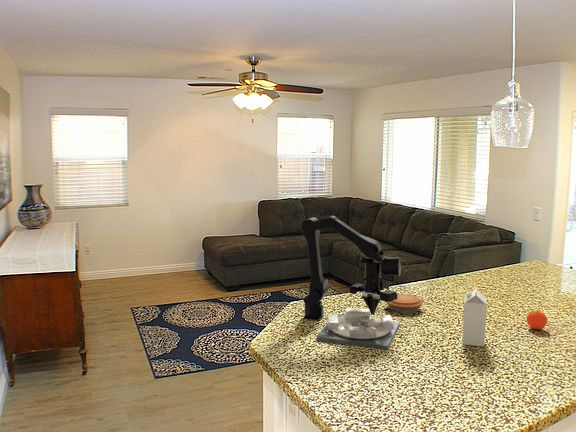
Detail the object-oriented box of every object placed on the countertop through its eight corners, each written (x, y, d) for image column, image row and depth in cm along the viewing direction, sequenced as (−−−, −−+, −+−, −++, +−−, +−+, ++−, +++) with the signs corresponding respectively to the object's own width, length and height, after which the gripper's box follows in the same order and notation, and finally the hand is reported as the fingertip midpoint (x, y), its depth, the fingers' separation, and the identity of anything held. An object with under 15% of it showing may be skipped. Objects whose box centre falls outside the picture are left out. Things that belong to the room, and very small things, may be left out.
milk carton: (483, 339, 185) (486, 287, 182) (484, 347, 178) (487, 293, 175) (462, 337, 187) (465, 285, 184) (462, 344, 180) (464, 291, 177)
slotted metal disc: (329, 339, 180) (329, 329, 180) (327, 317, 203) (327, 308, 203) (396, 340, 179) (396, 330, 179) (387, 317, 202) (387, 309, 202)
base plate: (316, 340, 184) (316, 335, 184) (335, 317, 208) (335, 313, 207) (387, 350, 176) (387, 345, 175) (399, 325, 199) (399, 321, 198)
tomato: (520, 328, 196) (521, 309, 195) (526, 323, 201) (527, 305, 200) (542, 333, 190) (544, 314, 189) (549, 328, 195) (550, 310, 194)
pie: (431, 310, 216) (431, 298, 215) (404, 317, 208) (404, 305, 207) (403, 301, 229) (403, 290, 228) (377, 307, 220) (377, 296, 219)
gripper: (405, 274, 196) (405, 314, 198) (366, 266, 209) (366, 304, 212) (388, 280, 188) (388, 321, 191) (348, 272, 202) (348, 311, 204)
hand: (372, 314), depth 199 cm, fingers closed
